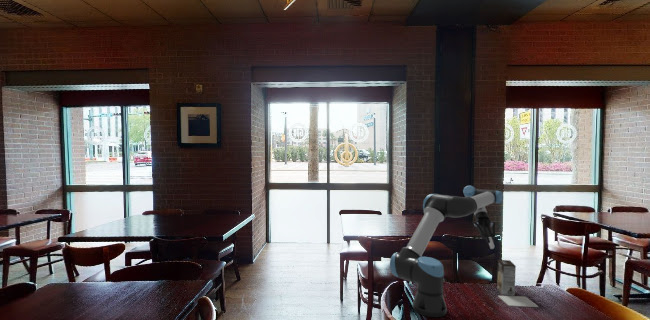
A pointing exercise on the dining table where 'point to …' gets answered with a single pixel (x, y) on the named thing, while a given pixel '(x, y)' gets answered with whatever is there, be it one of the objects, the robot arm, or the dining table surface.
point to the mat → (517, 301)
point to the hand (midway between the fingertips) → (492, 247)
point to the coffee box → (506, 277)
